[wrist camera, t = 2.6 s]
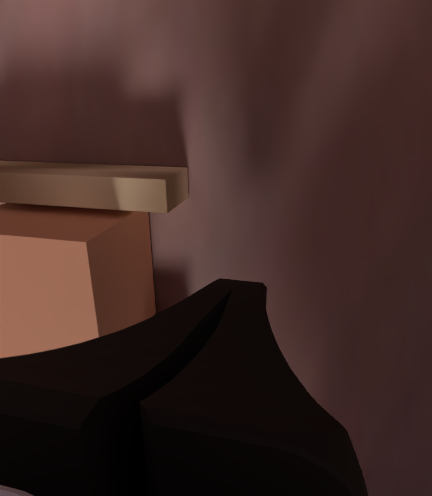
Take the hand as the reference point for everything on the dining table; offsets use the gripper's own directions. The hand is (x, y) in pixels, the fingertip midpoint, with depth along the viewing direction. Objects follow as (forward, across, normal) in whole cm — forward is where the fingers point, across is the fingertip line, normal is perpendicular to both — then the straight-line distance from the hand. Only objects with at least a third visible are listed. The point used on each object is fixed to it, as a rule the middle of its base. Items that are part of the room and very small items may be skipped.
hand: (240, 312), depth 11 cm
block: (+3, +6, 0) cm, 7 cm away
